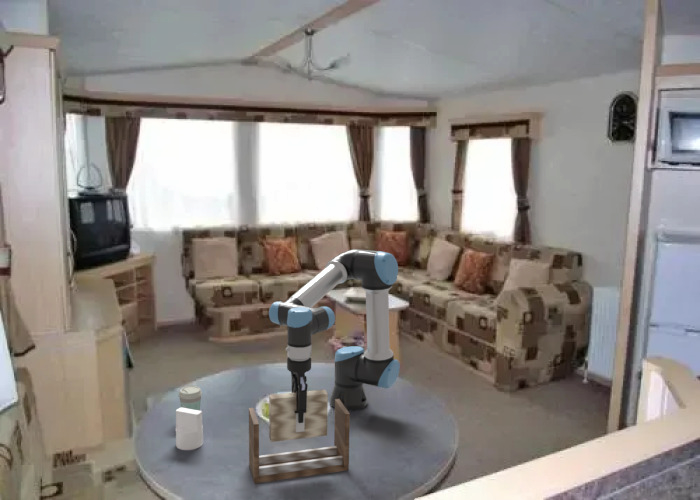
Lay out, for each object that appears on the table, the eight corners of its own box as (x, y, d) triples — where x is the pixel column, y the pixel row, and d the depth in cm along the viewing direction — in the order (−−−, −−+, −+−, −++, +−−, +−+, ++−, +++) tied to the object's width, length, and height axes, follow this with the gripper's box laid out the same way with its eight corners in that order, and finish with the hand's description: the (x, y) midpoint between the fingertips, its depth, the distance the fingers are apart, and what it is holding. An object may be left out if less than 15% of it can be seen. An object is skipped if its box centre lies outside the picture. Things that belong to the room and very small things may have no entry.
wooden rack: (338, 452, 196) (339, 398, 194) (348, 470, 185) (349, 413, 182) (249, 464, 188) (248, 408, 185) (254, 483, 176) (253, 424, 174)
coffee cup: (181, 415, 223) (180, 385, 221) (204, 415, 223) (203, 385, 222) (176, 425, 214) (176, 394, 212) (200, 424, 215) (199, 394, 213)
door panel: (324, 430, 189) (325, 389, 187) (327, 435, 186) (327, 393, 184) (269, 437, 184) (269, 394, 182) (271, 442, 180) (271, 399, 178)
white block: (208, 440, 203) (207, 407, 202) (193, 452, 195) (192, 418, 193) (186, 436, 206) (185, 403, 204) (170, 447, 198) (169, 414, 196)
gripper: (282, 350, 188) (282, 418, 191) (292, 367, 172) (292, 441, 175) (305, 348, 190) (304, 416, 193) (317, 365, 174) (316, 438, 178)
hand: (298, 428), depth 184 cm, fingers closed on door panel, 3 cm apart
